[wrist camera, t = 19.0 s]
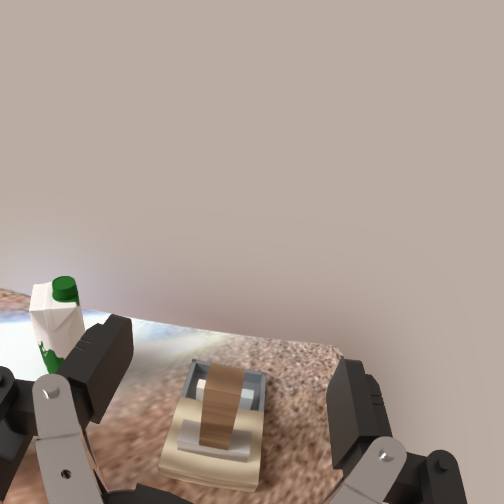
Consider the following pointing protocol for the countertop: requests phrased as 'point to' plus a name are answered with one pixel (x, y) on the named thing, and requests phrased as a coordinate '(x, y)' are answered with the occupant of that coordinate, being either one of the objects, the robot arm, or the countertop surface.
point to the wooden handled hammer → (218, 419)
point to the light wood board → (208, 467)
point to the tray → (250, 382)
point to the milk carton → (56, 319)
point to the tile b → (246, 399)
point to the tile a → (200, 389)
